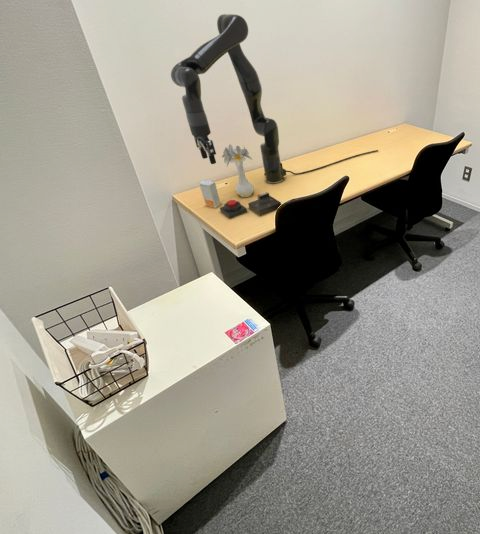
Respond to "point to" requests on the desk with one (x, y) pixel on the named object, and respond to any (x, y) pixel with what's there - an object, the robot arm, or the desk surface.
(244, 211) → the button box
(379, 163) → the desk surface
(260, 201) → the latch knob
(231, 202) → the button
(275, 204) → the rotary lever switch
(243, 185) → the flower vase
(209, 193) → the cosmetic box
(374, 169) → the desk surface
